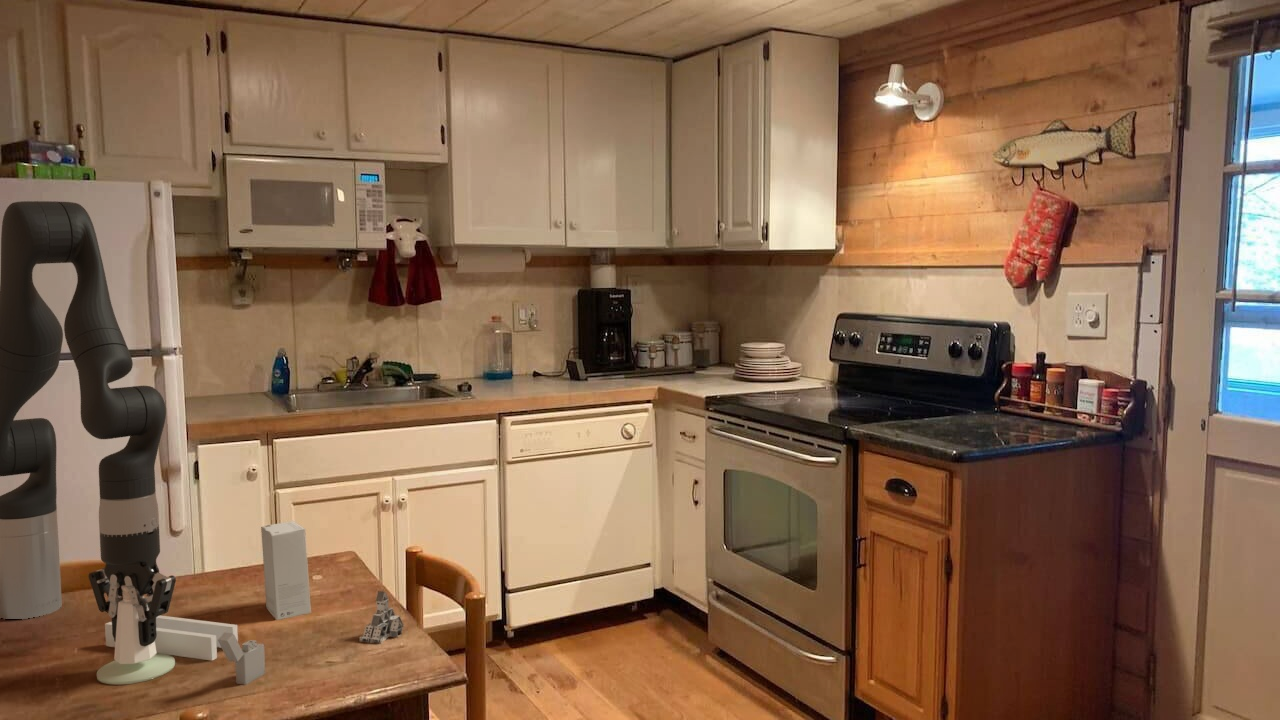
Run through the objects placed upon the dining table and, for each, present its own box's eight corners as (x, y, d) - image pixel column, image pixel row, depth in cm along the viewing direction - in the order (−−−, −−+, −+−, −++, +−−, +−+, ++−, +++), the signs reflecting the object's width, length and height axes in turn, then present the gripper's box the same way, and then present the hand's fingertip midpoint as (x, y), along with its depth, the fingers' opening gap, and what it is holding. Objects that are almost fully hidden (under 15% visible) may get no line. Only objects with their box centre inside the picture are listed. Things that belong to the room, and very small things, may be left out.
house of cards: (402, 655, 142) (401, 605, 142) (352, 649, 145) (350, 600, 144) (431, 634, 151) (430, 587, 150) (383, 628, 153) (382, 582, 153)
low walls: (105, 645, 146) (104, 623, 145) (134, 633, 151) (133, 612, 151) (212, 660, 140) (211, 637, 140) (238, 647, 145) (237, 624, 145)
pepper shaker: (165, 652, 138) (162, 579, 137) (134, 666, 133) (130, 590, 132) (136, 648, 140) (133, 575, 139) (105, 661, 135) (101, 586, 134)
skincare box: (311, 615, 159) (308, 529, 158) (274, 622, 156) (271, 534, 154) (299, 602, 166) (296, 518, 165) (263, 608, 162) (260, 523, 161)
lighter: (256, 671, 136) (254, 617, 135) (266, 673, 135) (263, 619, 135) (219, 692, 129) (217, 635, 128) (229, 693, 128) (227, 636, 128)
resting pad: (80, 679, 133) (79, 676, 133) (136, 653, 143) (136, 650, 143) (136, 688, 130) (136, 684, 130) (190, 660, 140) (190, 657, 140)
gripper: (68, 528, 133) (74, 646, 135) (148, 536, 129) (153, 658, 130) (112, 516, 140) (117, 628, 142) (189, 523, 136) (194, 638, 138)
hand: (134, 641), depth 136 cm, fingers closed on pepper shaker, 4 cm apart
